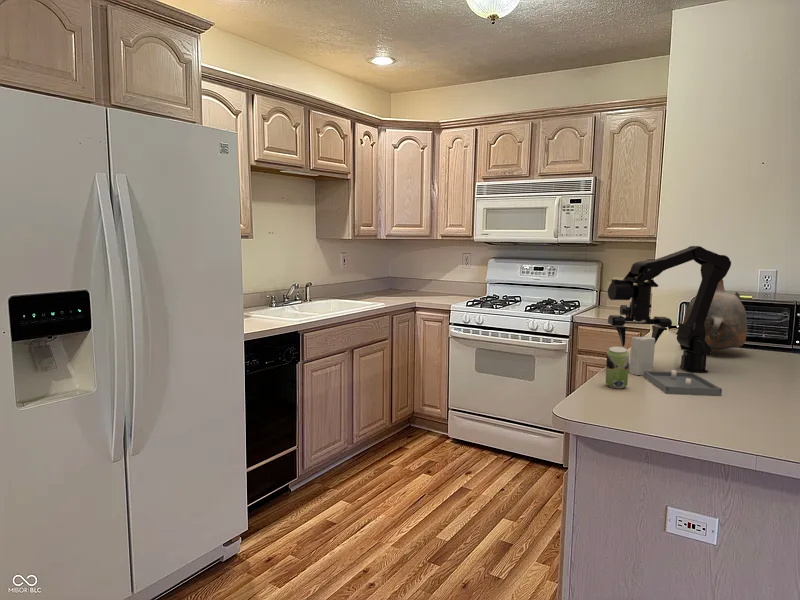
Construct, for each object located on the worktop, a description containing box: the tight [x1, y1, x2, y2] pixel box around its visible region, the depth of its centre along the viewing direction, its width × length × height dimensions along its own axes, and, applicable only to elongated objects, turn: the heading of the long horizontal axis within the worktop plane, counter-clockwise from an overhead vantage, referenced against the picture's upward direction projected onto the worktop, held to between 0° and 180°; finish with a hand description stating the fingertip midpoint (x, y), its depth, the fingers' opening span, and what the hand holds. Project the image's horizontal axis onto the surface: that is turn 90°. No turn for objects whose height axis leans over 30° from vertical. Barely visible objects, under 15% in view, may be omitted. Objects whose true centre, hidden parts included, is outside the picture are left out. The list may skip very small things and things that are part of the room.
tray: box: [643, 369, 723, 397], centre depth 162 cm, size 15×18×4 cm
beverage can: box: [605, 346, 630, 389], centre depth 159 cm, size 6×7×12 cm
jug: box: [682, 278, 748, 354], centre depth 208 cm, size 24×21×30 cm
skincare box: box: [628, 336, 656, 376], centre depth 175 cm, size 6×4×12 cm
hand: (637, 346), depth 179 cm, fingers open, 9 cm apart
